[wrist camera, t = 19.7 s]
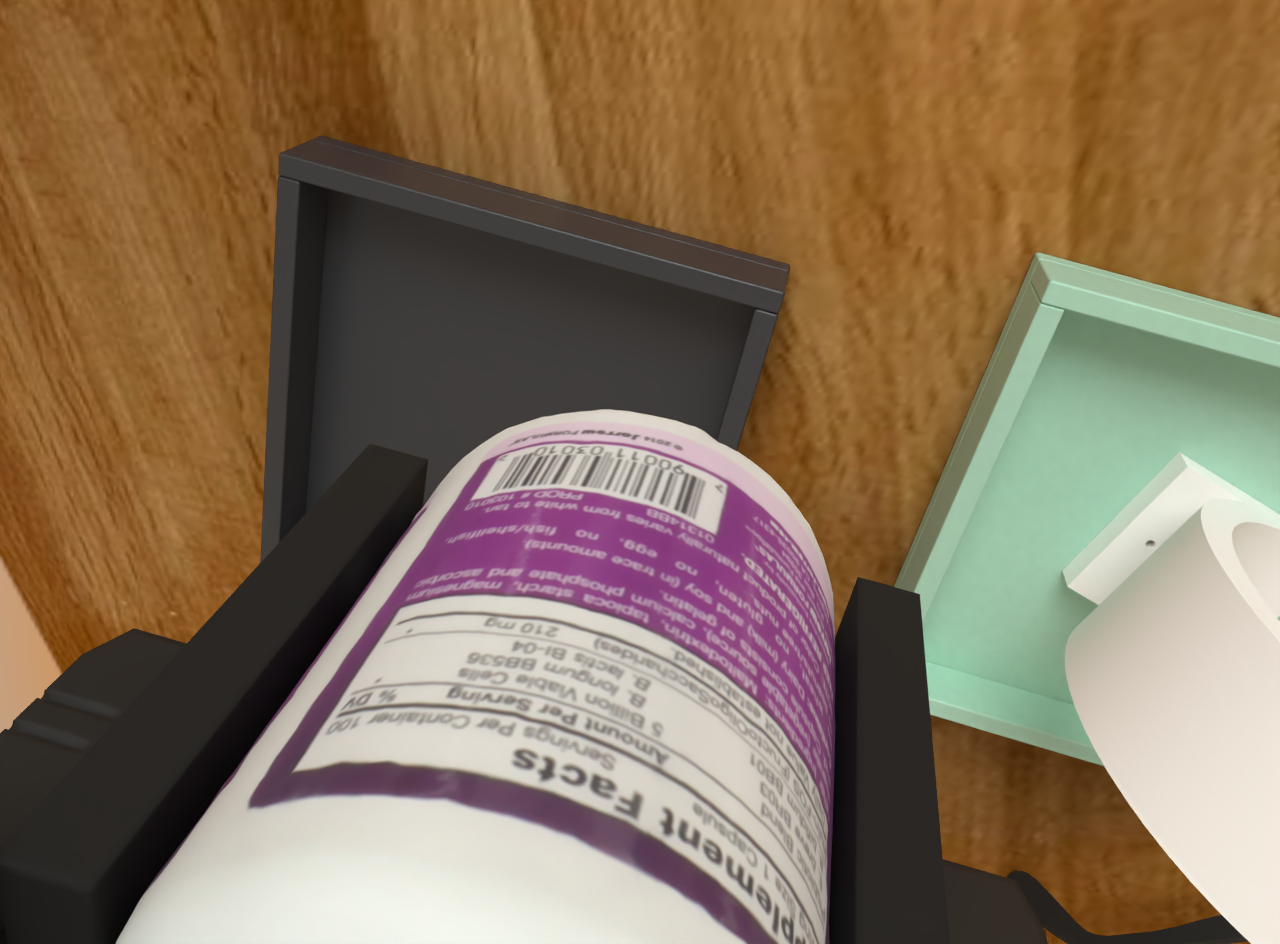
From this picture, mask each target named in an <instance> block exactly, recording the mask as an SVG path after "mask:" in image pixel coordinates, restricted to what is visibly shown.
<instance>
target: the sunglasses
mask: <svg viewBox="0 0 1280 944" xmlns="http://www.w3.org/2000/svg"><path fill="white" fill-rule="evenodd" d="M1008 878H1009V879H1012V880H1016V881H1017V883H1018V885H1019V887H1020V888H1021V890H1022V892H1023V894H1024V895H1025V897H1026V899H1027V901H1028V902H1029V904H1030V906H1031V908H1032V909H1033V911H1034V913H1035V915H1036V916H1037V918H1038V920H1039V922H1040V923H1041V925H1042V926H1043V927H1044V928H1045V929H1047V930H1048V931H1050V932H1051V933H1052V934H1054V935H1055V936H1056V937H1058V938H1059V939H1061V940H1062V941H1064V942H1066V943H1067V944H1229V943H1237V942H1246V941H1248V940H1247V939H1246V938H1245V937H1243V936H1242V935H1241V934H1240V933H1239V932H1238V931H1237V930H1236V929H1235V928H1234V927H1233V926H1232V925H1231V924H1230V923H1229V922H1228V921H1227V920H1226V919H1225V918H1224V917H1223V916H1222V915H1219V916H1215V917H1211V918H1207V919H1203V920H1199V921H1195V922H1191V923H1188V924H1184V925H1181V926H1177V927H1172V928H1167V929H1163V930H1158V931H1153V932H1143V933H1133V934H1123V935H1113V936H1102V935H1096V934H1093V933H1090V932H1087V931H1086V930H1085V929H1083V928H1082V927H1081V926H1080V925H1079V924H1078V923H1076V922H1075V921H1074V919H1073V918H1072V917H1071V916H1070V915H1069V914H1068V913H1067V912H1066V911H1065V910H1064V909H1063V907H1062V906H1061V905H1060V904H1059V903H1058V902H1057V901H1056V900H1055V899H1054V898H1053V896H1052V895H1051V894H1050V893H1049V892H1048V891H1047V890H1046V889H1045V888H1044V887H1043V886H1042V885H1041V884H1040V883H1039V882H1038V881H1037V880H1036V879H1035V878H1033V877H1032V876H1031V875H1030V874H1028V873H1026V872H1023V871H1014V872H1012V873H1010V875H1009V876H1008Z"/></svg>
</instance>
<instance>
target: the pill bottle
mask: <svg viewBox="0 0 1280 944" xmlns="http://www.w3.org/2000/svg"><path fill="white" fill-rule="evenodd" d="M834 761H835V625H834V601H833V593H832V588H831V583H830V578H829V575H828V571H827V568H826V564H825V561H824V557H823V555H822V552H821V550H820V548H819V545H818V543H817V541H816V539H815V536H814V534H813V532H812V529H811V527H810V525H809V524H808V522H807V521H806V520H805V518H804V517H803V515H802V514H801V512H800V511H799V510H798V508H797V507H796V506H795V505H794V503H793V502H792V500H791V499H790V497H789V496H788V495H787V493H786V492H785V491H784V490H783V489H782V488H781V487H780V486H779V485H778V484H777V483H776V482H775V481H774V480H773V479H772V478H771V476H769V475H768V474H767V473H766V472H765V471H764V470H762V469H761V468H760V467H758V466H757V465H756V464H755V463H753V462H752V461H751V460H749V459H748V458H746V457H745V456H744V455H742V454H741V453H739V452H737V451H735V450H733V449H731V448H730V447H728V446H726V445H723V444H721V443H719V442H717V441H716V440H715V439H713V438H712V437H711V436H710V435H708V434H707V433H706V432H705V431H703V430H701V429H699V428H697V427H694V426H691V425H687V424H684V423H681V422H678V421H675V420H671V419H666V418H662V417H657V416H653V415H647V414H642V413H636V412H630V411H621V410H611V409H600V410H594V411H581V412H573V413H564V414H558V415H553V416H547V417H540V418H537V419H534V420H531V421H528V422H525V423H522V424H519V425H516V426H513V427H510V428H507V429H505V430H503V431H502V432H500V433H498V434H496V435H495V436H493V437H492V438H490V439H488V440H487V441H485V442H484V443H482V444H481V445H480V446H478V447H477V448H476V449H474V450H473V451H472V452H470V453H469V454H468V455H466V456H465V457H464V458H463V459H462V460H461V461H460V462H459V463H458V464H457V465H456V466H455V467H454V468H453V469H452V470H451V471H450V472H449V473H448V475H447V476H446V477H445V478H444V479H443V481H442V482H441V483H440V484H439V485H438V487H437V488H436V490H435V491H434V493H433V494H432V495H431V497H430V498H429V500H428V501H427V502H426V504H425V505H424V507H423V508H422V509H421V510H420V511H419V512H418V513H417V514H416V516H415V518H414V519H413V521H412V523H411V525H410V526H409V528H408V529H407V530H406V531H405V533H404V534H403V535H402V536H401V538H400V539H399V540H398V542H397V543H396V545H395V546H394V548H393V549H392V550H391V552H390V553H389V555H388V556H387V558H386V559H385V561H384V562H383V564H382V565H381V566H380V568H379V569H378V571H377V572H376V574H375V575H374V577H373V578H372V579H371V581H370V582H369V584H368V585H367V586H366V588H365V589H364V591H363V592H362V593H361V595H360V596H359V598H358V599H357V601H356V602H355V604H354V605H353V606H352V608H351V609H350V611H349V612H348V614H347V615H346V616H345V618H344V619H343V621H342V622H341V624H340V625H339V627H338V628H337V629H336V631H335V632H334V633H333V635H332V636H331V638H330V639H329V640H328V642H327V643H326V645H325V646H324V647H323V649H322V650H321V652H320V653H319V655H318V656H317V657H316V659H315V660H314V661H313V663H312V664H311V665H310V667H309V668H308V669H307V671H306V672H305V673H304V675H303V676H302V678H301V679H300V680H299V682H298V683H297V685H296V686H295V687H294V689H293V690H292V692H291V693H290V694H289V696H288V697H287V699H286V700H285V702H284V703H283V704H282V705H281V707H280V708H279V710H278V711H277V712H276V714H275V715H274V716H273V718H272V719H271V721H270V722H269V723H268V725H267V726H266V727H265V729H264V730H263V732H262V733H261V734H260V736H259V737H258V738H257V740H256V741H255V743H254V744H253V746H252V747H251V748H250V750H249V751H248V753H247V754H246V755H245V757H244V758H243V760H242V761H241V763H240V764H239V765H238V767H237V768H236V770H235V771H234V772H233V774H232V775H231V776H230V777H229V778H228V780H227V781H226V782H225V783H224V784H223V786H222V787H221V789H220V790H219V792H218V793H217V795H216V796H215V798H214V799H213V801H212V802H211V804H210V805H209V807H208V808H207V810H206V811H205V813H204V814H203V815H202V817H201V818H200V819H199V821H198V822H197V823H196V824H195V826H194V827H193V828H192V830H191V831H190V832H189V834H188V835H187V836H186V838H185V839H184V840H183V842H182V843H181V844H180V846H179V847H178V848H177V849H176V851H175V852H174V853H173V855H172V856H171V857H170V859H169V860H168V861H167V862H166V864H165V865H164V866H163V868H162V869H161V870H160V871H159V873H158V874H157V875H156V877H155V878H154V880H153V881H152V883H151V884H150V885H149V887H148V888H147V890H146V891H145V892H144V894H143V896H142V897H141V899H140V901H139V903H138V904H137V906H136V908H135V910H134V911H133V913H132V915H131V917H130V918H129V920H128V922H127V924H126V925H125V927H124V929H123V931H122V932H121V934H120V936H119V938H118V939H117V942H116V944H829V906H830V878H831V854H832V832H833V798H834Z"/></svg>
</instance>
